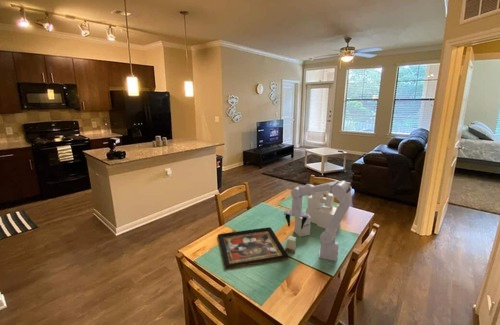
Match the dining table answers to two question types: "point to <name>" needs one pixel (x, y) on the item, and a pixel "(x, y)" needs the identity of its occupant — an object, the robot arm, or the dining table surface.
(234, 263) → the framed icon painting
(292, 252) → the walnut base
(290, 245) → the sage block
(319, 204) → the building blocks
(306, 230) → the supplement box
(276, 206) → the dining table surface
